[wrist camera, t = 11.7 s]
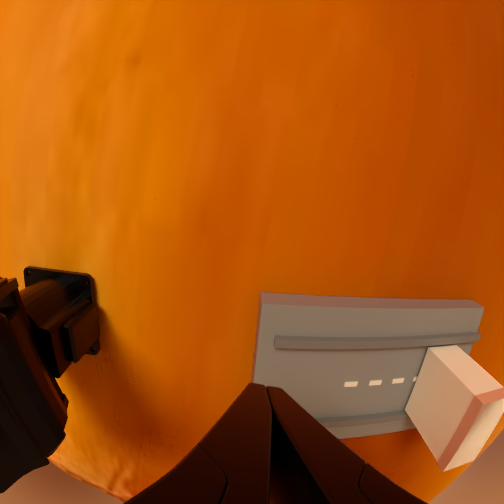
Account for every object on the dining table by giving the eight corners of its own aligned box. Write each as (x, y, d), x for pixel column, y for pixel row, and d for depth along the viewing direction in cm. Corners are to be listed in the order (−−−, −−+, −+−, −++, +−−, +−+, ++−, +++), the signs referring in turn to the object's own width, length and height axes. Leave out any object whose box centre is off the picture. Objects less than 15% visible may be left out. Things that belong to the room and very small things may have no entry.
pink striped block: (403, 410, 21) (442, 472, 14) (427, 347, 20) (483, 404, 12) (432, 405, 21) (473, 460, 14) (457, 344, 20) (512, 394, 12)
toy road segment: (246, 424, 23) (246, 445, 21) (260, 292, 21) (262, 307, 18) (429, 411, 24) (441, 427, 22) (470, 299, 21) (488, 310, 19)
